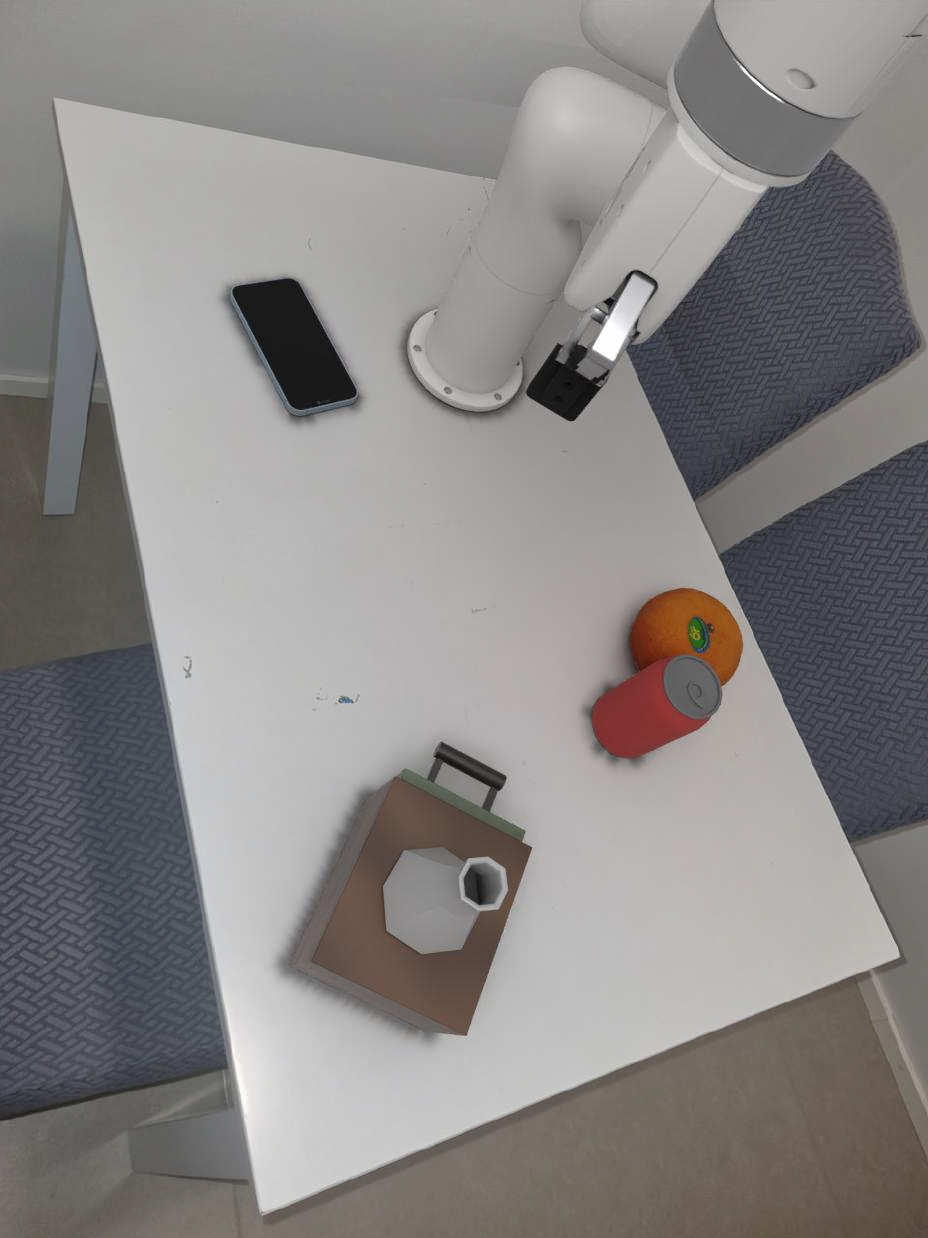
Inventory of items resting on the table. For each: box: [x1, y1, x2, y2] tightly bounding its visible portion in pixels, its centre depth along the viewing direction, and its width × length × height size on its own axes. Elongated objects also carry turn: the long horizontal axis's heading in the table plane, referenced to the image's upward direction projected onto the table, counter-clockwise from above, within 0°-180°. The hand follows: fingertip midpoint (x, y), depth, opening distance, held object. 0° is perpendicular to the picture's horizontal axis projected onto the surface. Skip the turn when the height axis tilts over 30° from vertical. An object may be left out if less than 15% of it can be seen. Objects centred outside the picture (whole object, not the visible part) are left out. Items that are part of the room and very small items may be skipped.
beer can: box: [591, 654, 723, 759], centre depth 76 cm, size 7×7×12 cm
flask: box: [383, 847, 508, 954], centre depth 56 cm, size 7×7×10 cm
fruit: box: [629, 587, 744, 687], centre depth 82 cm, size 11×10×8 cm
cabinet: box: [288, 775, 533, 1037], centre depth 64 cm, size 14×12×9 cm
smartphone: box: [229, 276, 359, 417], centre depth 84 cm, size 7×1×15 cm
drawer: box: [395, 741, 527, 842], centre depth 65 cm, size 17×10×7 cm, turn 157°
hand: (576, 348), depth 51 cm, fingers open, 9 cm apart
